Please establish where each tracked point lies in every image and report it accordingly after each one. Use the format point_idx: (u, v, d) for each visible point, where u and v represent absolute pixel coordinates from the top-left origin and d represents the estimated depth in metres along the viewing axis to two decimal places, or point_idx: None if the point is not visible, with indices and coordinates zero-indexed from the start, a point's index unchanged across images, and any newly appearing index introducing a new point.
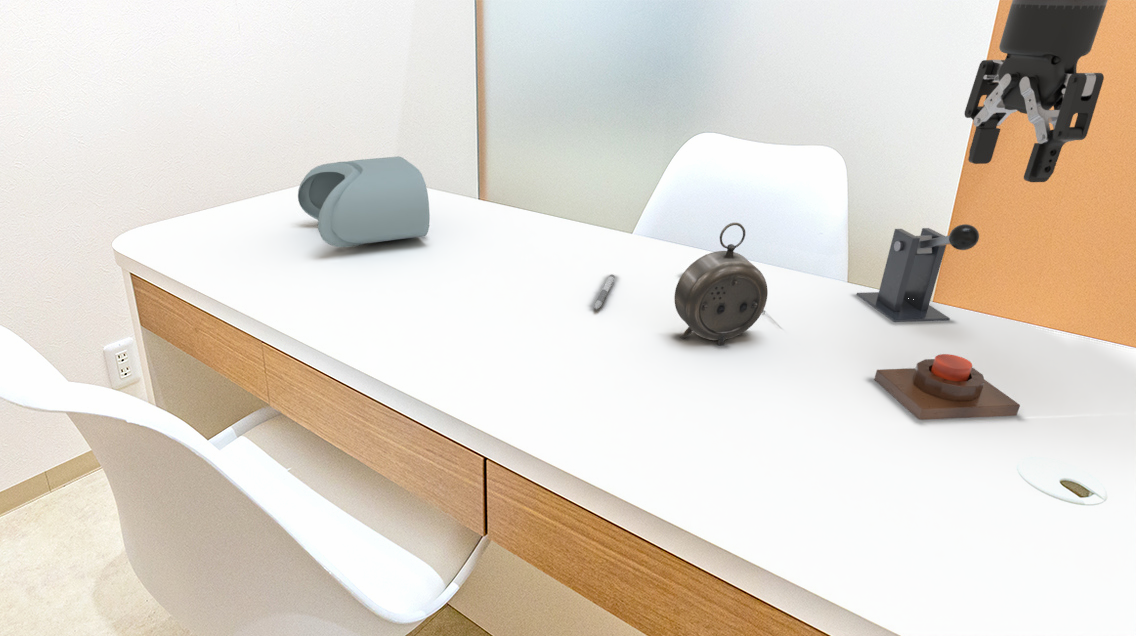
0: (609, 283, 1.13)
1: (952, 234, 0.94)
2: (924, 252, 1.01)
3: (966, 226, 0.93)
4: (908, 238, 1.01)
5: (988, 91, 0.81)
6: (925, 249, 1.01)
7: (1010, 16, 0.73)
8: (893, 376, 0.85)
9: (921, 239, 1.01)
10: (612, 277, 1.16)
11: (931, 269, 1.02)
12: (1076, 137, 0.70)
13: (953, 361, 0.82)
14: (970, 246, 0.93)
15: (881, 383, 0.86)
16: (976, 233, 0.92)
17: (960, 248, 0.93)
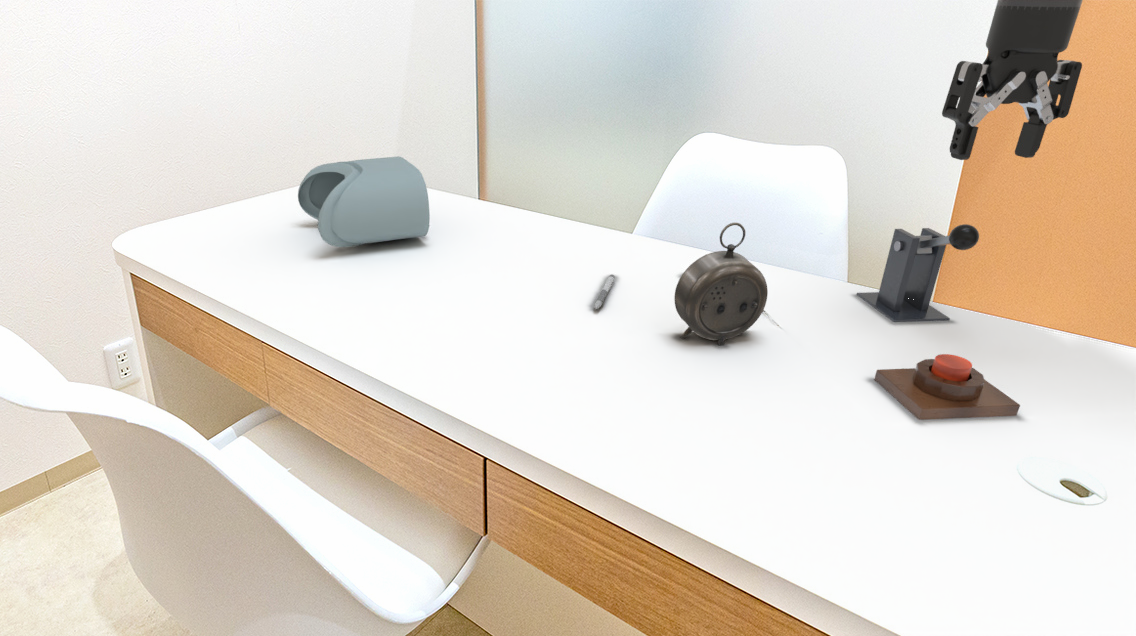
0: (609, 283, 1.13)
1: (952, 234, 0.94)
2: (924, 252, 1.01)
3: (966, 226, 0.93)
4: (908, 238, 1.01)
5: (1056, 90, 0.84)
6: (925, 249, 1.01)
7: None
8: (893, 376, 0.85)
9: (921, 239, 1.01)
10: (612, 277, 1.16)
11: (931, 269, 1.02)
12: (952, 116, 0.83)
13: (953, 361, 0.82)
14: (970, 246, 0.93)
15: (881, 383, 0.86)
16: (976, 233, 0.92)
17: (960, 248, 0.93)
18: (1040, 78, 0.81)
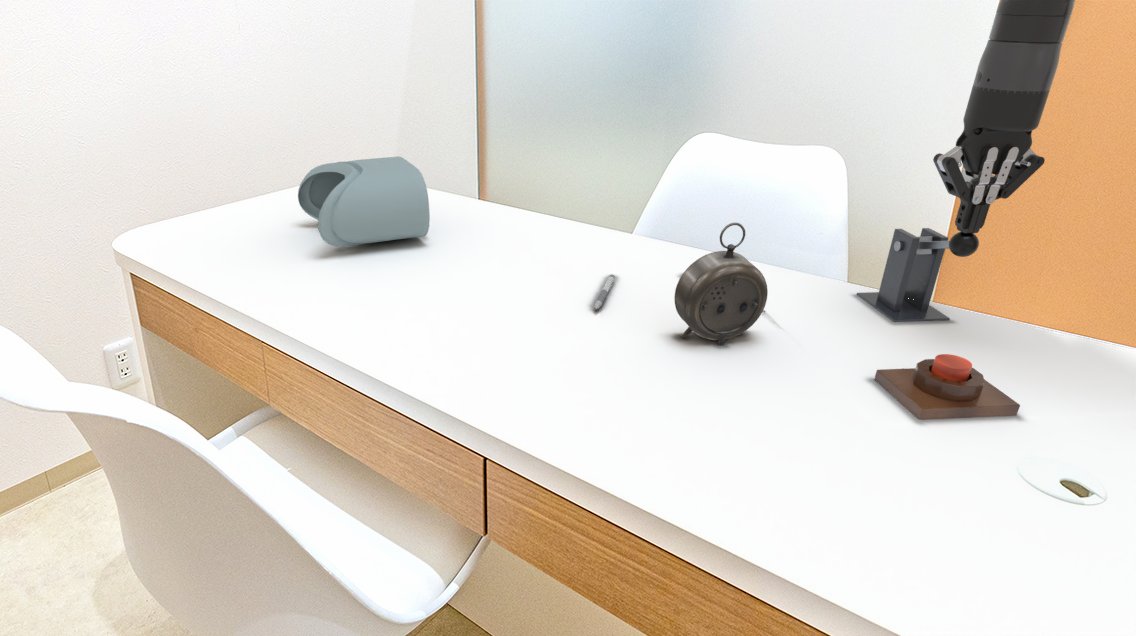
0: (609, 283, 1.13)
1: (952, 241, 0.94)
2: (923, 253, 1.01)
3: (966, 234, 0.93)
4: (908, 238, 1.01)
5: (1011, 173, 0.90)
6: (925, 250, 1.01)
7: None
8: (893, 376, 0.85)
9: (921, 240, 1.01)
10: (612, 277, 1.16)
11: (931, 269, 1.02)
12: (955, 194, 0.90)
13: (953, 361, 0.82)
14: (969, 254, 0.93)
15: (881, 383, 0.86)
16: (976, 241, 0.92)
17: (960, 255, 0.94)
18: (1013, 153, 0.87)
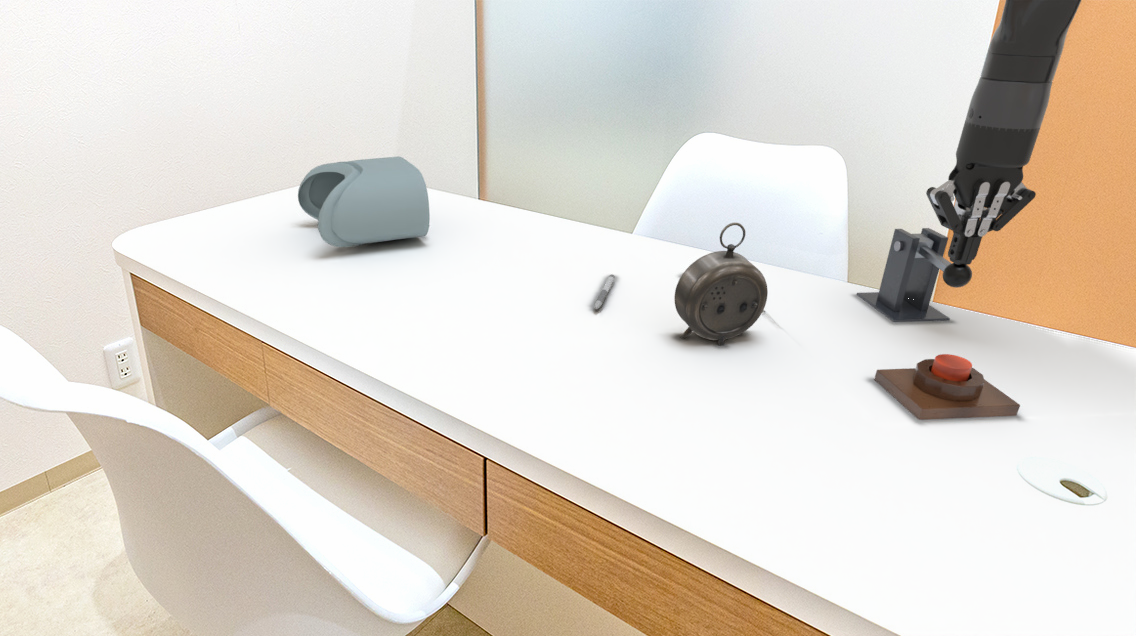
0: (609, 283, 1.13)
1: (946, 272, 0.95)
2: (920, 257, 1.02)
3: (962, 270, 0.94)
4: (908, 238, 1.01)
5: (1003, 206, 0.92)
6: None
7: None
8: (893, 376, 0.85)
9: (922, 245, 1.01)
10: (612, 277, 1.16)
11: (931, 269, 1.02)
12: (948, 227, 0.92)
13: (953, 361, 0.82)
14: None
15: (881, 383, 0.86)
16: (969, 278, 0.94)
17: None
18: (1004, 188, 0.88)
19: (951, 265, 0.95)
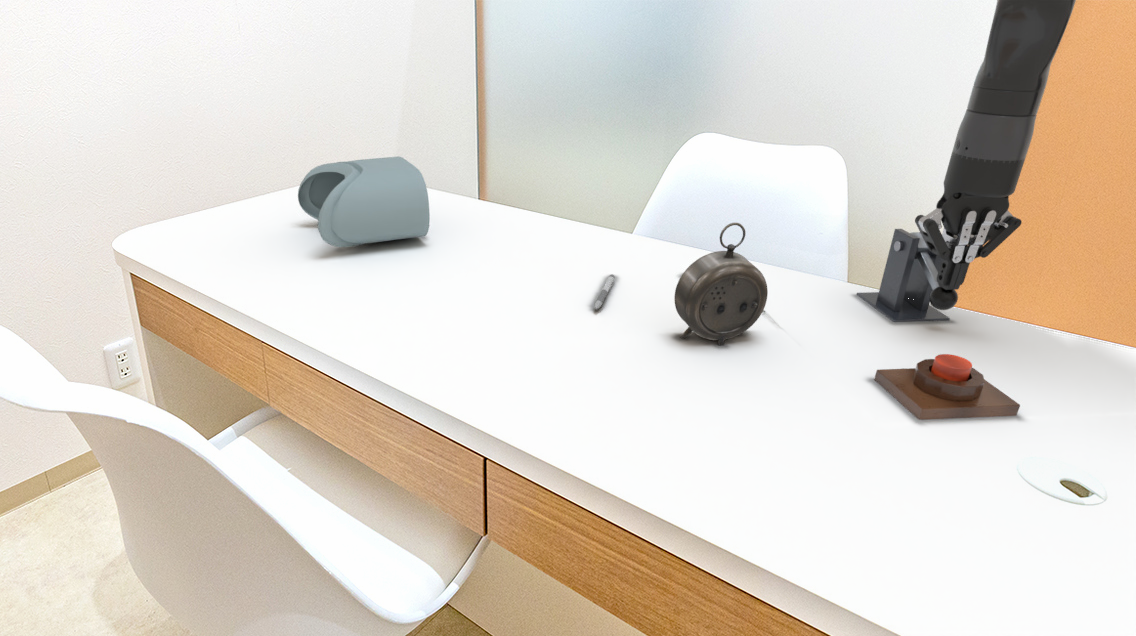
0: (609, 283, 1.13)
1: (934, 296, 0.97)
2: (917, 258, 1.03)
3: (948, 298, 0.96)
4: (908, 238, 1.01)
5: (990, 233, 0.94)
6: None
7: None
8: (893, 376, 0.85)
9: (921, 250, 1.01)
10: (612, 277, 1.16)
11: None
12: (936, 253, 0.94)
13: (953, 361, 0.82)
14: None
15: (881, 383, 0.86)
16: (953, 305, 0.97)
17: (933, 306, 0.99)
18: (990, 216, 0.91)
19: (940, 290, 0.97)
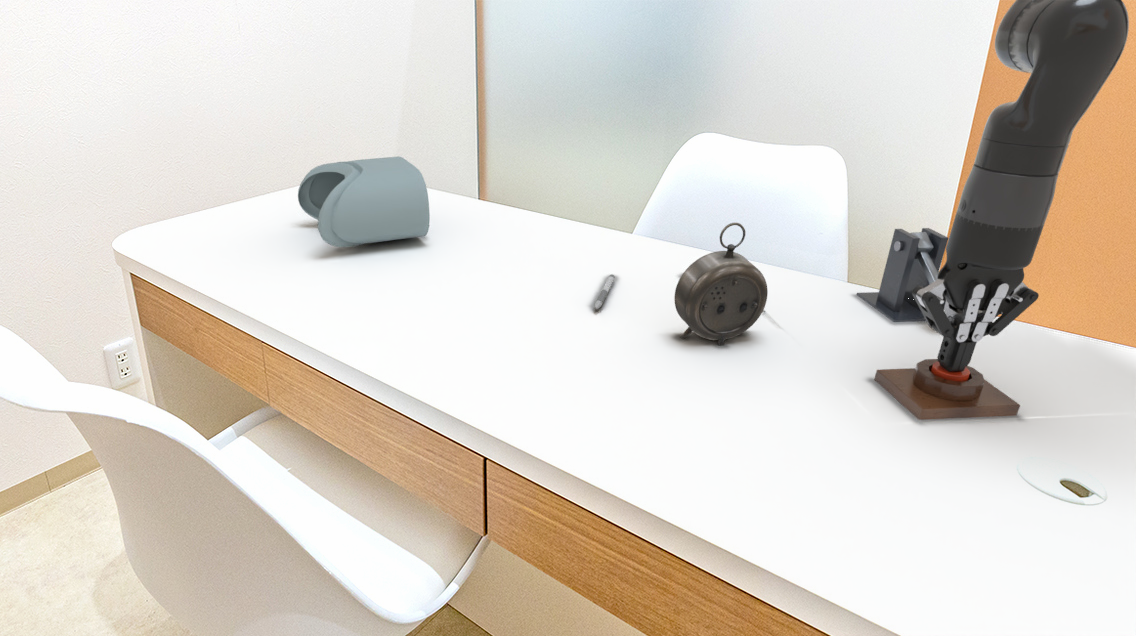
0: (609, 283, 1.13)
1: None
2: (917, 258, 1.03)
3: None
4: (908, 238, 1.01)
5: (1001, 307, 0.79)
6: None
7: None
8: (893, 376, 0.85)
9: (921, 250, 1.01)
10: (612, 277, 1.16)
11: None
12: (937, 331, 0.79)
13: None
14: None
15: (881, 383, 0.86)
16: None
17: None
18: (1002, 290, 0.76)
19: None
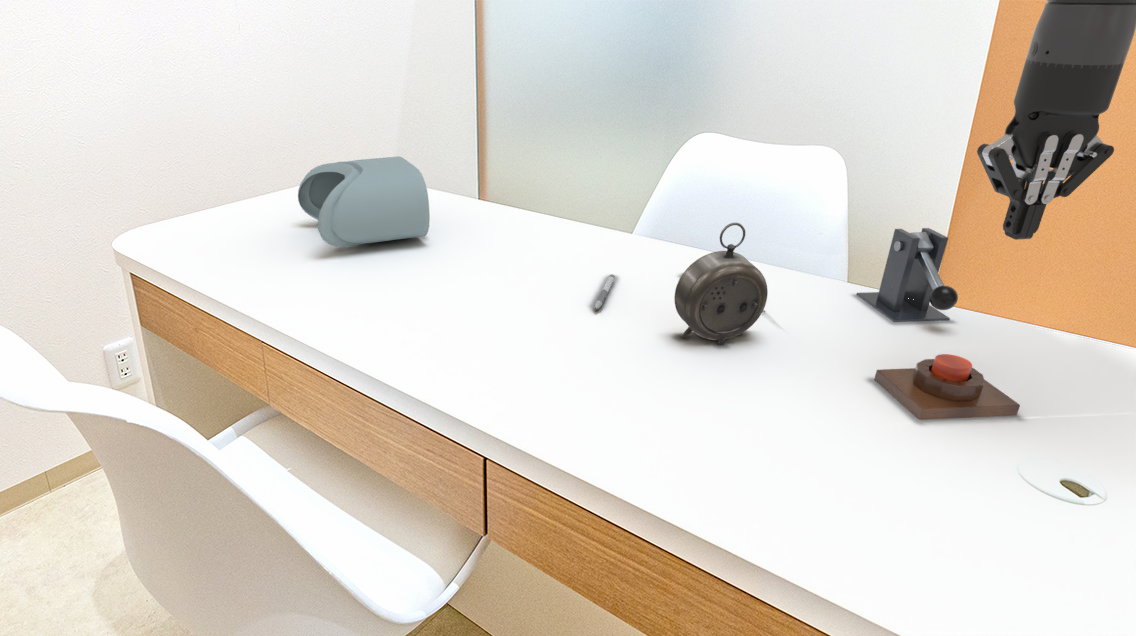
0: (609, 283, 1.13)
1: (934, 296, 0.97)
2: (917, 258, 1.03)
3: (948, 298, 0.96)
4: (908, 238, 1.01)
5: (1072, 166, 0.74)
6: None
7: None
8: (893, 376, 0.85)
9: (921, 250, 1.01)
10: (612, 277, 1.16)
11: None
12: (1004, 193, 0.75)
13: (953, 361, 0.82)
14: None
15: (881, 383, 0.86)
16: (953, 305, 0.97)
17: (933, 306, 0.99)
18: (1076, 142, 0.71)
19: (940, 290, 0.97)
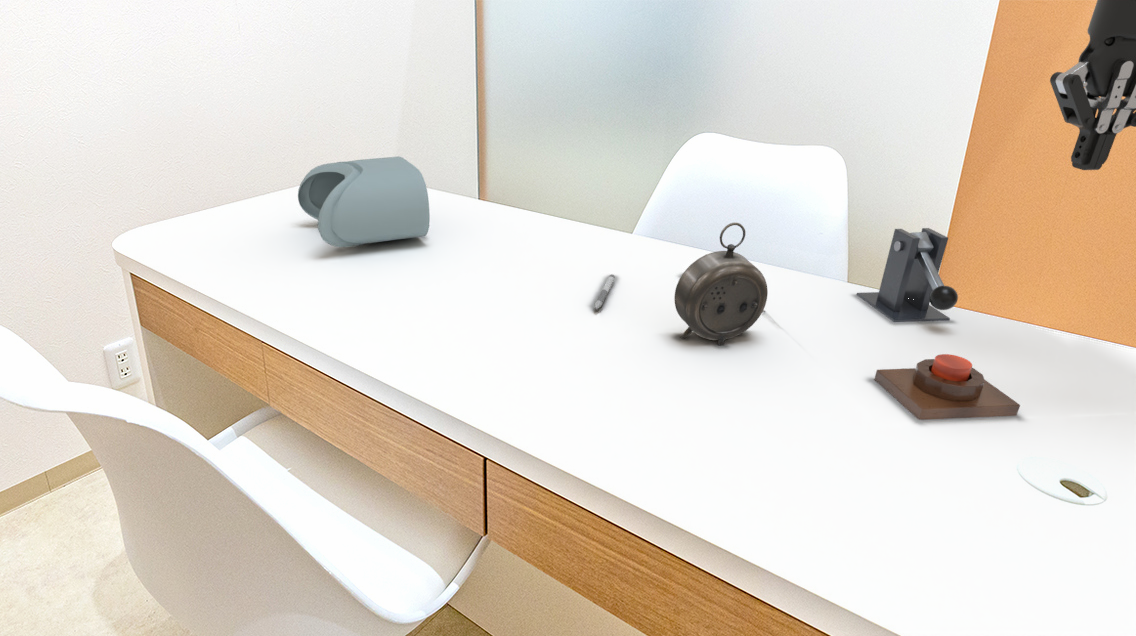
0: (609, 283, 1.13)
1: (934, 296, 0.97)
2: (917, 258, 1.03)
3: (948, 298, 0.96)
4: (908, 238, 1.01)
5: None
6: None
7: None
8: (893, 376, 0.85)
9: (921, 250, 1.01)
10: (612, 277, 1.16)
11: None
12: (1076, 122, 0.76)
13: (953, 361, 0.82)
14: None
15: (881, 383, 0.86)
16: (953, 305, 0.97)
17: (933, 306, 0.99)
18: None
19: (940, 290, 0.97)
